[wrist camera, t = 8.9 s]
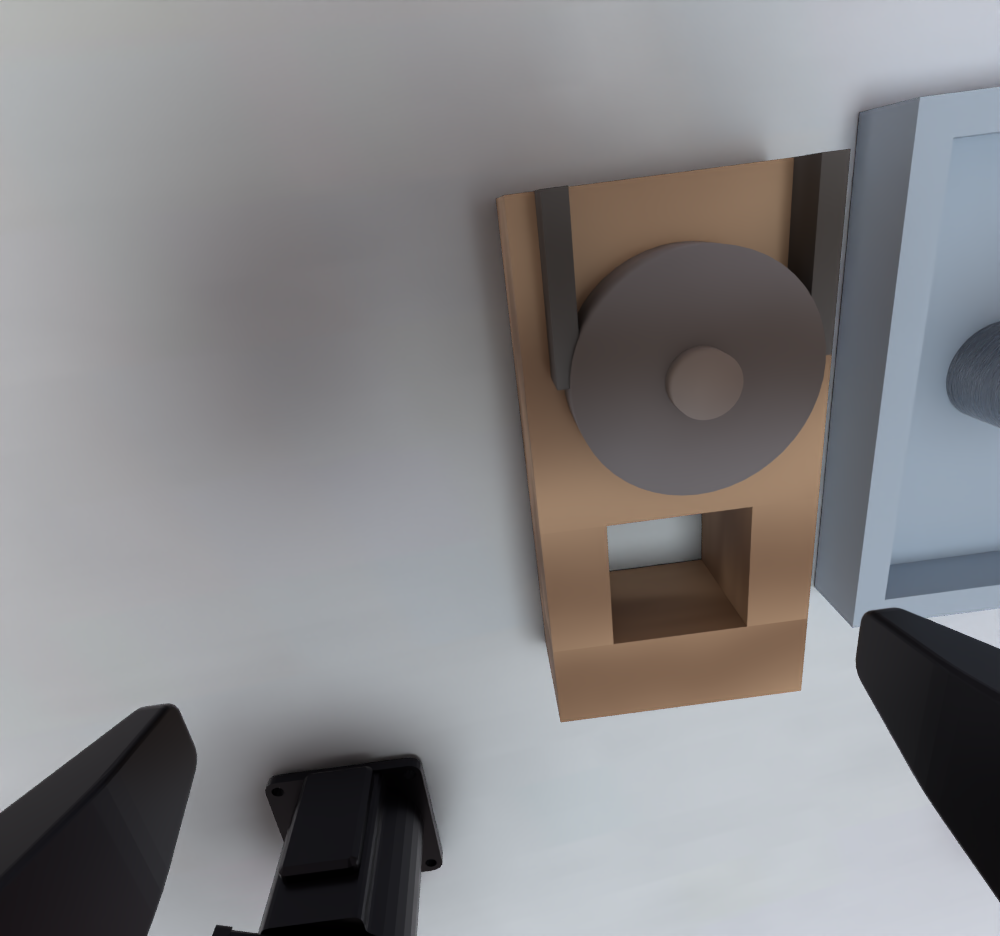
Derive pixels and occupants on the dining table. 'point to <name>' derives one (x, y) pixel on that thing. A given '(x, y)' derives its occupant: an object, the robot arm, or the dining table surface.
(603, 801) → the dining table surface
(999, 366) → the pin
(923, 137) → the tray
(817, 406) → the tensioner block
